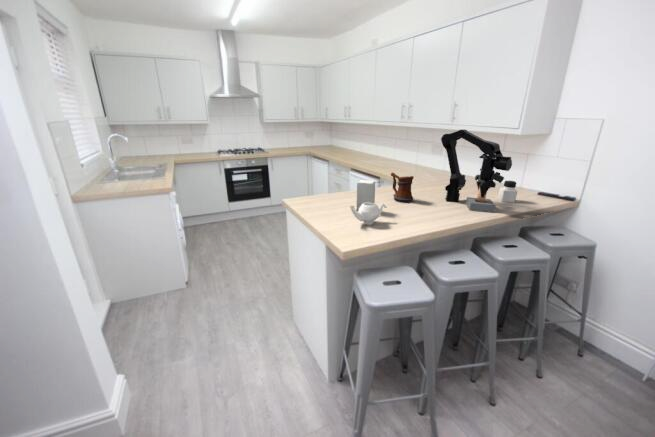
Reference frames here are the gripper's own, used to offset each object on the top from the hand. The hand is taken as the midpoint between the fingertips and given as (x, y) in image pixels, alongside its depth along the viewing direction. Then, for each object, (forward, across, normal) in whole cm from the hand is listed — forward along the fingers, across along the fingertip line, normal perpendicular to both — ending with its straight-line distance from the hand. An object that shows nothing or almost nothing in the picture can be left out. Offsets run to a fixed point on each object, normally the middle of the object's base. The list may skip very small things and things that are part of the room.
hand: (481, 196), depth 157 cm
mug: (+7, +5, +43) cm, 44 cm away
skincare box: (+7, -23, +60) cm, 65 cm away
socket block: (+7, 0, 0) cm, 7 cm away
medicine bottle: (+7, +21, -19) cm, 29 cm away
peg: (+3, 0, 0) cm, 3 cm away
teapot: (+7, -41, +56) cm, 70 cm away
